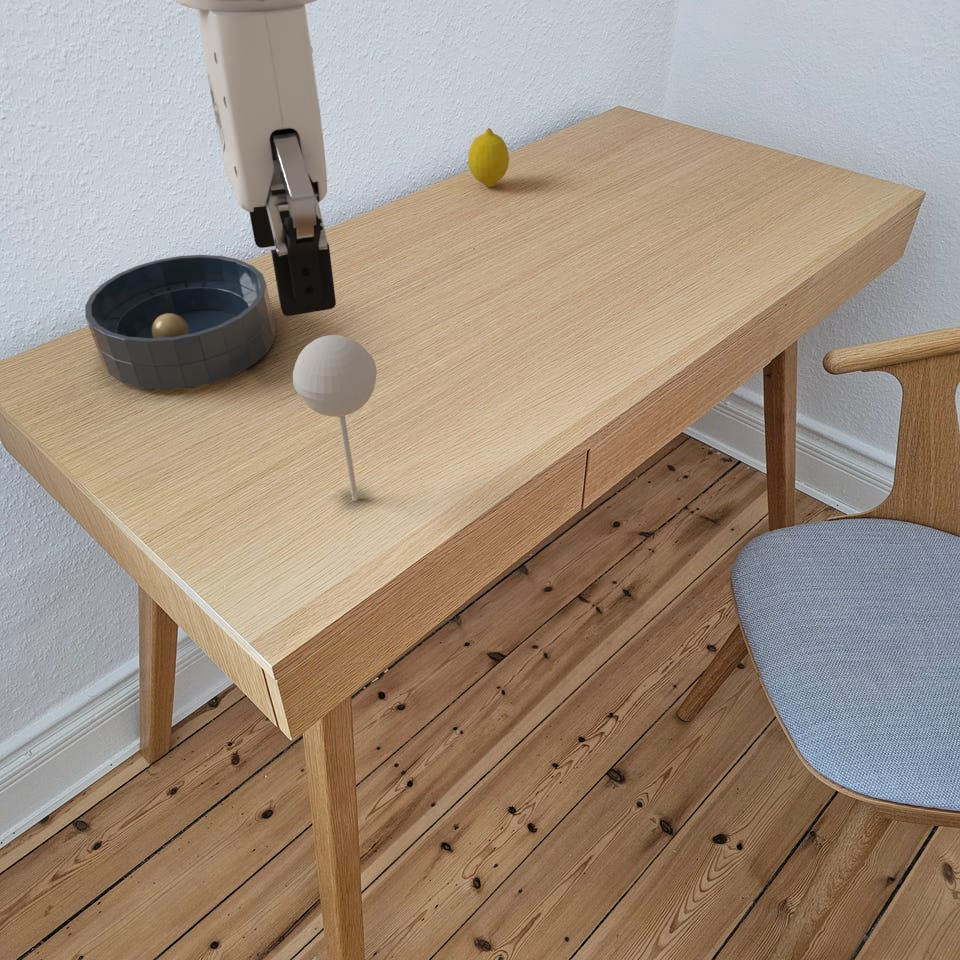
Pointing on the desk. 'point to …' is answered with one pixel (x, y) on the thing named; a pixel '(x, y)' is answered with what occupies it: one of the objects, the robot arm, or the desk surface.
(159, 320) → the bead
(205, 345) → the bowl
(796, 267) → the desk surface
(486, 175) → the fruit
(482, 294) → the desk surface
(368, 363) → the lollipop
